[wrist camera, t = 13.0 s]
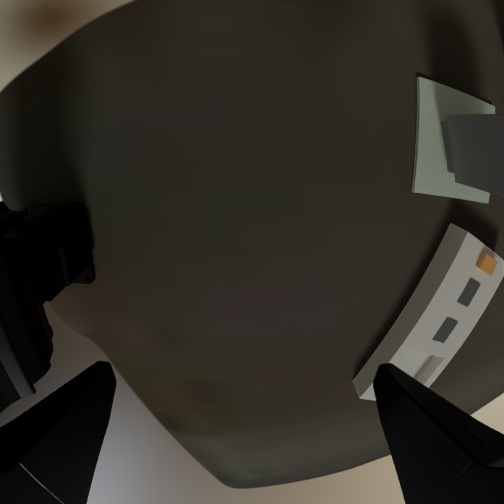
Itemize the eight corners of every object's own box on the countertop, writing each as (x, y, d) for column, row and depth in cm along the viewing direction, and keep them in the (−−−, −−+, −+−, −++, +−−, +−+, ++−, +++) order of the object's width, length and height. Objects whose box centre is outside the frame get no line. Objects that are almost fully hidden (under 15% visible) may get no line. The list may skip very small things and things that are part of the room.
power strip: (405, 389, 28) (415, 408, 25) (352, 380, 26) (361, 402, 23) (493, 255, 22) (512, 267, 19) (450, 222, 21) (472, 234, 18)
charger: (443, 178, 19) (528, 207, 11) (434, 115, 17) (523, 116, 9) (483, 170, 19) (562, 194, 10) (476, 113, 17) (557, 118, 8)
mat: (411, 191, 20) (413, 192, 19) (416, 77, 17) (419, 76, 16) (485, 202, 20) (488, 203, 20) (491, 106, 17) (494, 106, 17)
